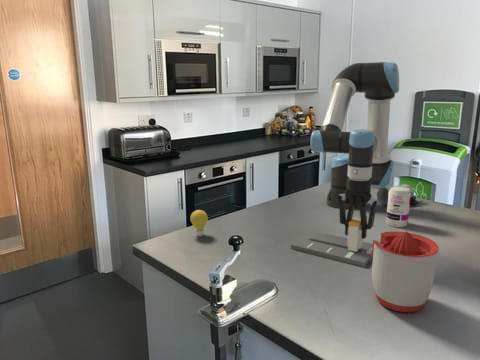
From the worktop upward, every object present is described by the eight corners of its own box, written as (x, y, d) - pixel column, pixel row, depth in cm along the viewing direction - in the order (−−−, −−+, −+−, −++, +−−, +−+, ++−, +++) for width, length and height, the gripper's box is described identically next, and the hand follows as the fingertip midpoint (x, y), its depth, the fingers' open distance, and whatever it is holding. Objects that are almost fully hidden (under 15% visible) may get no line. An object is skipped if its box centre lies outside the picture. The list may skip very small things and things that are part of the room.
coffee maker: (378, 180, 185) (407, 177, 192) (371, 195, 190) (399, 191, 197) (399, 200, 174) (429, 196, 181) (391, 215, 179) (421, 210, 186)
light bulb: (187, 236, 151) (186, 211, 148) (197, 230, 157) (196, 206, 154) (202, 239, 148) (201, 214, 145) (211, 233, 154) (211, 209, 151)
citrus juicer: (375, 279, 118) (380, 215, 113) (438, 298, 107) (447, 229, 102) (353, 301, 106) (357, 232, 101) (421, 326, 95) (430, 249, 90)
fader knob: (352, 244, 137) (354, 217, 135) (362, 246, 135) (364, 219, 133) (346, 249, 133) (348, 222, 130) (356, 252, 131) (358, 224, 128)
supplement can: (404, 221, 164) (407, 186, 160) (410, 228, 156) (414, 191, 152) (383, 220, 165) (386, 185, 161) (389, 227, 157) (392, 191, 153)
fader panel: (310, 233, 152) (310, 229, 152) (379, 249, 138) (379, 245, 137) (290, 248, 139) (290, 244, 139) (364, 267, 125) (364, 262, 124)
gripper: (331, 177, 129) (327, 244, 135) (381, 184, 120) (375, 255, 126) (339, 172, 135) (336, 236, 141) (388, 179, 126) (382, 247, 132)
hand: (354, 245), depth 134 cm, fingers closed on fader knob, 3 cm apart
